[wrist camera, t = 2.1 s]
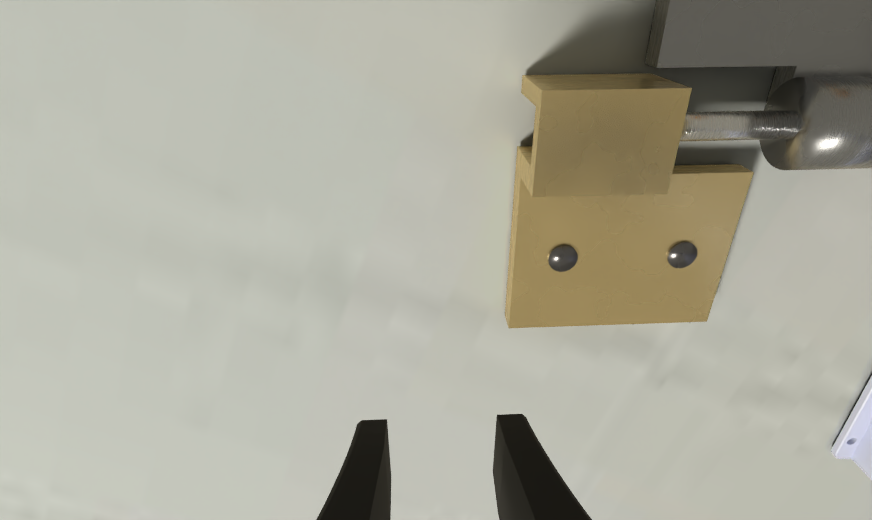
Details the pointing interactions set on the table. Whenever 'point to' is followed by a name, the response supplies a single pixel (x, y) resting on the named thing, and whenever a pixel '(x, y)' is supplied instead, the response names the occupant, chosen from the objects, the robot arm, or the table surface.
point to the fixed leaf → (780, 74)
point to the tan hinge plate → (615, 207)
